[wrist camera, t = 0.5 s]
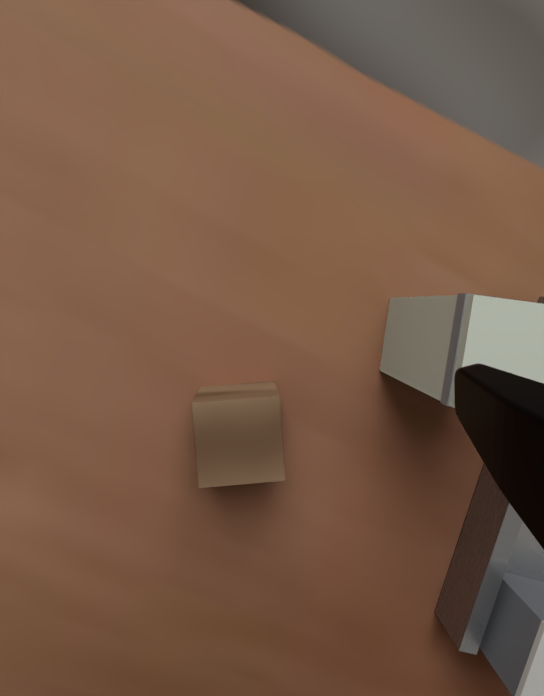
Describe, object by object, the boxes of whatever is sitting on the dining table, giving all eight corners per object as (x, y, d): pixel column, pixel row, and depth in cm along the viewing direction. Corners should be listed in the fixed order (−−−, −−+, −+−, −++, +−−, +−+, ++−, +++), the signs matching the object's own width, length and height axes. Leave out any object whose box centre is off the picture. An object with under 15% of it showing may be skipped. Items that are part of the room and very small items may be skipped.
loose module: (459, 380, 25) (576, 423, 16) (378, 371, 25) (453, 409, 16) (471, 307, 25) (598, 309, 16) (389, 296, 25) (472, 293, 16)
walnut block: (279, 452, 25) (285, 480, 21) (206, 458, 25) (199, 488, 21) (274, 380, 25) (279, 396, 21) (200, 386, 24) (191, 403, 20)
